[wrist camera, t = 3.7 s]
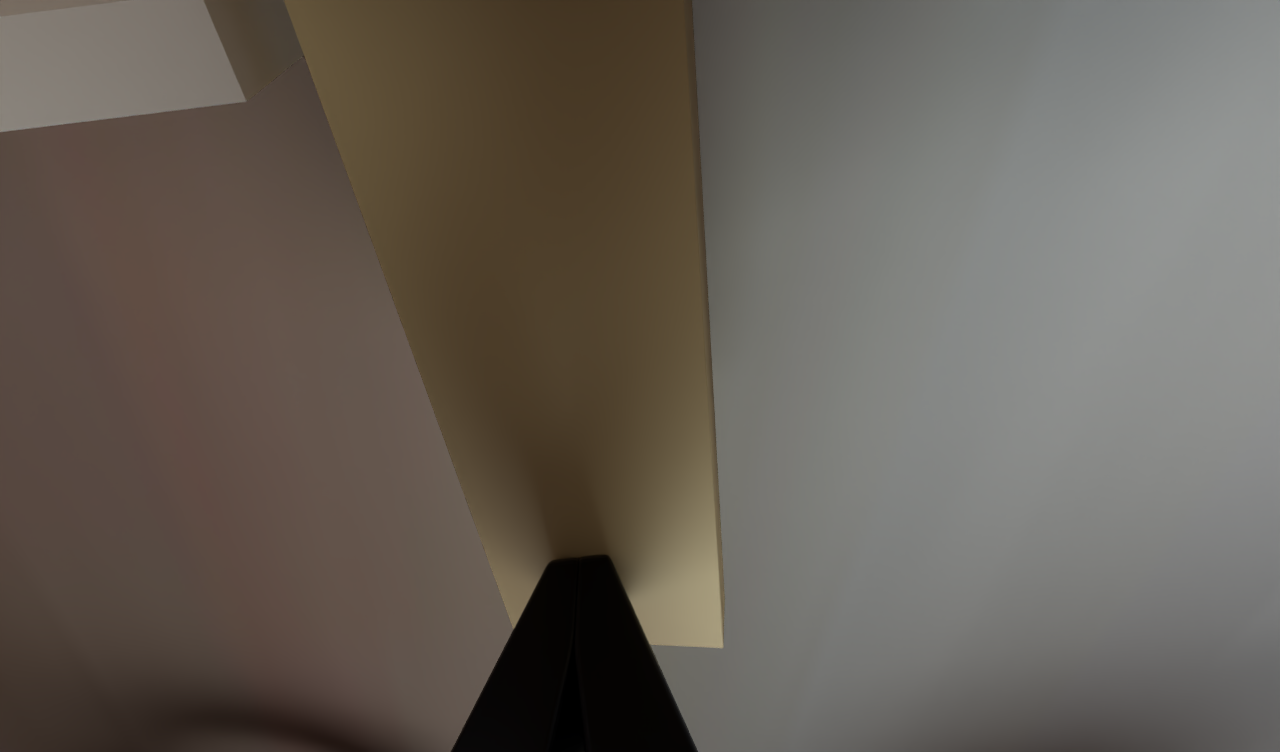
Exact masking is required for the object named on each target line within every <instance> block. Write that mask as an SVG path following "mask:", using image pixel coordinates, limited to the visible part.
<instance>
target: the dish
mask: <svg viewBox="0 0 1280 752" xmlns="http://www.w3.org/2000/svg"><path fill="white" fill-rule="evenodd" d="M303 56H304V54H303V51H302V49H301V46H300V43H299V40H298V38H297V35H296V32H295V29H294V27H293V24H292V21H291V18H290V16H289V13H288V10H287V8H286V5H285V2H284V0H0V132H5V131H13V130H21V129H29V128H37V127H45V126H53V125H61V124H70V123H78V122H86V121H94V120H102V119H110V118H118V117H127V116H135V115H143V114H151V113H159V112H167V111H175V110H184V109H192V108H200V107H208V106H216V105H224V104H232V103H240V102H247V101H248V100H249V99H251V98H252V97H253V96H254V95H256V94H257V93H258V92H259V91H260V90H262V89H263V88H264V87H265V86H267V85H268V84H269V83H270V82H272V81H273V80H274V79H275V78H277V77H278V76H279V75H280V74H281V73H283V72H284V71H285V70H286V69H288V68H289V67H290V66H291V65H293V64H294V63H295V62H296V61H298V60H299V59H300V58H301V57H303Z"/></svg>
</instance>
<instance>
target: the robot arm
mask: <svg viewBox="0 0 1280 752" xmlns="http://www.w3.org/2000/svg"><path fill="white" fill-rule="evenodd" d="M451 752H698V750H697V748H696V746H695V744H694V742H693V739H692V737H691V735H690V733H689V730H688V728H687V726H686V724H685V722H684V719H683V717H682V715H681V713H680V710H679V708H678V706H677V704H676V702H675V699H674V697H673V695H672V693H671V690H670V688H669V686H668V684H667V682H666V679H665V677H664V675H663V673H662V670H661V668H660V666H659V664H658V661H657V659H656V657H655V655H654V653H653V650H652V648H651V646H650V644H649V641H648V639H647V637H646V635H645V633H644V630H643V628H642V626H641V624H640V621H639V619H638V617H637V615H636V613H635V610H634V608H633V606H632V604H631V601H630V599H629V597H628V595H627V593H626V590H625V588H624V586H623V584H622V581H621V579H620V577H619V575H618V573H617V570H616V568H615V566H614V564H613V561H612V559H611V558H610V556H608V555H594V556H584V557H582V558H580V559H578V558H566V559H557V560H552V561H550V562H549V563H548V564H547V566H546V567H545V569H544V571H543V573H542V575H541V577H540V579H539V581H538V583H537V585H536V587H535V589H534V591H533V593H532V595H531V597H530V598H529V600H528V602H527V604H526V606H525V608H524V610H523V612H522V614H521V616H520V618H519V620H518V622H517V624H516V626H515V628H514V630H513V632H512V634H511V636H510V638H509V639H508V641H507V643H506V645H505V647H504V649H503V651H502V653H501V655H500V657H499V659H498V661H497V663H496V665H495V667H494V669H493V671H492V673H491V675H490V677H489V678H488V680H487V682H486V684H485V686H484V688H483V690H482V692H481V694H480V696H479V698H478V700H477V702H476V704H475V706H474V708H473V710H472V712H471V714H470V716H469V717H468V719H467V721H466V723H465V725H464V727H463V729H462V731H461V733H460V735H459V737H458V739H457V741H456V743H455V745H454V747H453V749H452V751H451Z"/></svg>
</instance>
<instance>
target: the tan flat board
mask: <svg viewBox="0 0 1280 752" xmlns="http://www.w3.org/2000/svg"><path fill="white" fill-rule="evenodd" d="M284 2H285V5H286V8H287V10H288V13H289V16H290V18H291V21H292V24H293V27H294V29H295V32H296V35H297V38H298V40H299V43H300V46H301V49H302V51H303V54H304V57H305V60H306V62H307V65H308V68H309V71H310V73H311V76H312V79H313V81H314V84H315V87H316V90H317V92H318V95H319V98H320V101H321V103H322V106H323V109H324V112H325V114H326V117H327V120H328V123H329V125H330V128H331V131H332V134H333V136H334V139H335V142H336V145H337V147H338V150H339V153H340V155H341V158H342V161H343V164H344V166H345V169H346V172H347V175H348V177H349V180H350V183H351V186H352V188H353V191H354V194H355V197H356V199H357V202H358V205H359V208H360V210H361V213H362V216H363V218H364V221H365V224H366V227H367V229H368V232H369V235H370V238H371V240H372V243H373V246H374V249H375V251H376V254H377V257H378V260H379V262H380V265H381V268H382V271H383V273H384V276H385V279H386V281H387V284H388V287H389V290H390V292H391V295H392V298H393V301H394V303H395V306H396V309H397V312H398V314H399V317H400V320H401V323H402V325H403V328H404V331H405V334H406V336H407V339H408V342H409V345H410V347H411V350H412V353H413V355H414V358H415V361H416V364H417V366H418V369H419V372H420V375H421V377H422V380H423V383H424V386H425V388H426V391H427V394H428V397H429V399H430V402H431V405H432V408H433V410H434V413H435V416H436V418H437V421H438V424H439V427H440V429H441V432H442V435H443V438H444V440H445V443H446V446H447V449H448V451H449V454H450V457H451V460H452V462H453V465H454V468H455V471H456V473H457V476H458V479H459V481H460V484H461V487H462V490H463V492H464V495H465V498H466V501H467V503H468V506H469V509H470V512H471V514H472V517H473V520H474V523H475V525H476V528H477V531H478V534H479V536H480V539H481V542H482V544H483V547H484V550H485V553H486V555H487V558H488V561H489V564H490V566H491V569H492V572H493V575H494V577H495V580H496V583H497V586H498V588H499V591H500V594H501V597H502V599H503V602H504V605H505V608H506V610H507V613H508V616H509V618H510V621H511V624H512V627H513V629H514V628H515V626H516V624H517V622H518V620H519V618H520V616H521V614H522V612H523V610H524V608H525V606H526V604H527V602H528V600H529V598H530V597H531V595H532V593H533V591H534V589H535V587H536V585H537V583H538V581H539V579H540V577H541V575H542V573H543V571H544V569H545V567H546V566H547V564H548V563H549V562H550V561H552V560H557V559H566V558H578V559H580V558H582V557H584V556H594V555H608V556H610V558H611V559H612V561H613V564H614V566H615V568H616V570H617V573H618V575H619V577H620V579H621V581H622V584H623V586H624V588H625V590H626V593H627V595H628V597H629V599H630V601H631V604H632V606H633V608H634V610H635V613H636V615H637V617H638V619H639V621H640V624H641V626H642V628H643V630H644V633H645V635H646V637H647V639H648V641H649V644H650V645H670V646H690V647H711V648H723V639H724V606H725V595H724V577H723V559H722V540H721V522H720V504H719V486H718V468H717V449H716V431H715V413H714V395H713V376H712V358H711V340H710V322H709V303H708V285H707V267H706V249H705V230H704V212H703V194H702V176H701V158H700V139H699V121H698V103H697V85H696V66H695V48H694V30H693V12H692V0H284Z"/></svg>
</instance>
